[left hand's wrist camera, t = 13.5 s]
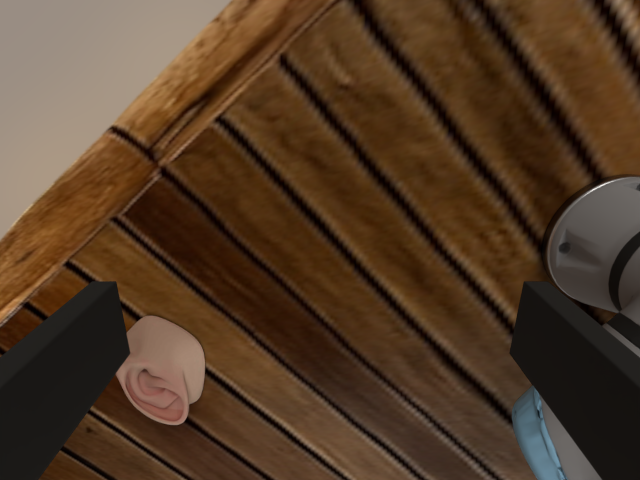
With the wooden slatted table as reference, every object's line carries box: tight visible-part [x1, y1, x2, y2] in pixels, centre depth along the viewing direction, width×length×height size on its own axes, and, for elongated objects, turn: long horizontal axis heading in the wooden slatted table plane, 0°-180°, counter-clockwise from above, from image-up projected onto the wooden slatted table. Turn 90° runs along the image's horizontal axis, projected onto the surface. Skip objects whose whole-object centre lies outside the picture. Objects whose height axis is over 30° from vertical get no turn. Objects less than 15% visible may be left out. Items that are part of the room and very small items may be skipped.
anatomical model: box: [116, 316, 205, 425], centre depth 49 cm, size 13×4×12 cm
